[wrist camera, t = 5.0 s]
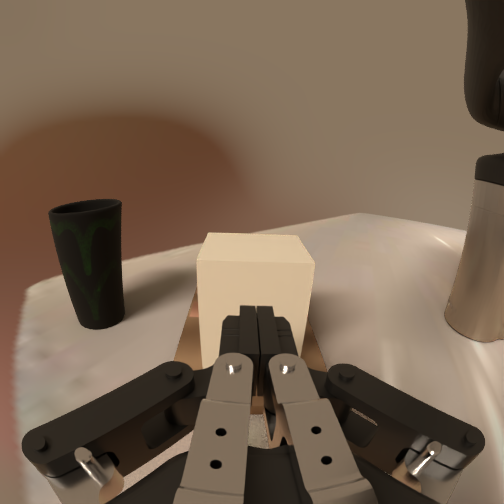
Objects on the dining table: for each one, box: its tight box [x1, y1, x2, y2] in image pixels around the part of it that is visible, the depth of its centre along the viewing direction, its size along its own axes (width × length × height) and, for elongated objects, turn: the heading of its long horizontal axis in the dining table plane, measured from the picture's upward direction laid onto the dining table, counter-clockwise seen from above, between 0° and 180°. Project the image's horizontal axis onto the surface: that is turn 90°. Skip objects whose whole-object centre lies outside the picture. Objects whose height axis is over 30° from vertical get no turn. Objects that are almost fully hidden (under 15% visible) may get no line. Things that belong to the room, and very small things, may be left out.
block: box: [196, 233, 315, 369], centre depth 21 cm, size 6×7×9 cm
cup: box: [48, 199, 125, 329], centre depth 25 cm, size 8×8×12 cm
